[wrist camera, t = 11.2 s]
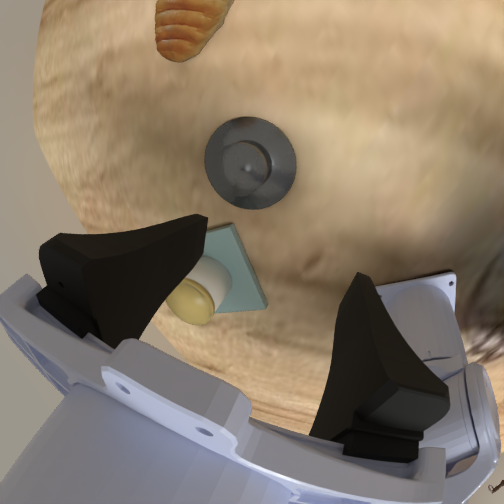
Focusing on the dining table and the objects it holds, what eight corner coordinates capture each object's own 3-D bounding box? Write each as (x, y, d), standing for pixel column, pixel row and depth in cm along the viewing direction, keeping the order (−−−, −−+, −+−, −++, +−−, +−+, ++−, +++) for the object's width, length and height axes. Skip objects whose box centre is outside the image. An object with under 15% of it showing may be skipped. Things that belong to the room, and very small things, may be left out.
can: (222, 305, 29) (203, 333, 25) (183, 280, 29) (160, 305, 25) (239, 273, 26) (219, 302, 22) (196, 246, 26) (170, 270, 23)
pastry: (216, 69, 18) (191, 64, 15) (153, 59, 19) (124, 57, 16) (249, -24, 13) (230, -43, 10) (182, -25, 14) (157, -37, 11)
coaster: (267, 304, 28) (265, 309, 27) (198, 310, 32) (195, 314, 31) (233, 223, 25) (229, 227, 24) (162, 243, 29) (158, 246, 28)
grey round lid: (309, 194, 21) (304, 205, 19) (227, 217, 24) (215, 228, 22) (275, 103, 18) (265, 102, 16) (193, 138, 22) (177, 142, 20)
